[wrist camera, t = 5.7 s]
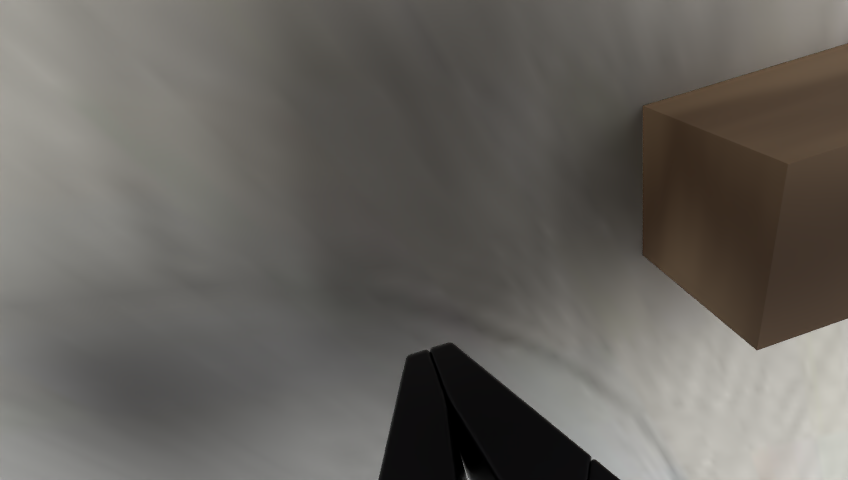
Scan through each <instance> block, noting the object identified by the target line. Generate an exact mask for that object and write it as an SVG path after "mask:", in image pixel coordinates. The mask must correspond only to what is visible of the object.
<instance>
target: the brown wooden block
mask: <svg viewBox="0 0 848 480" xmlns="http://www.w3.org/2000/svg"><path fill="white" fill-rule="evenodd" d="M643 256H644V257H646V258H647V259H648V260H649V261H650V262H652V263H653V264H654V265H655V266H656V267H658V268H659V269H660V270H661V271H662V272H664V273H665V274H666V275H667V276H668V277H670V278H671V279H672V280H673V281H674V282H676V283H677V284H678V285H679V286H680V287H682V288H683V289H684V290H685V291H686V292H688V293H689V294H690V295H691V296H692V297H694V298H695V299H696V300H697V301H698V302H700V303H701V304H702V305H703V306H704V307H706V308H707V309H708V310H709V311H710V312H712V313H713V314H714V315H715V316H716V317H718V318H719V319H720V320H721V321H722V322H724V323H725V324H726V325H727V326H728V327H730V328H731V329H732V330H733V331H734V332H736V333H737V334H738V335H739V336H740V337H742V338H743V339H744V340H745V341H746V342H748V343H749V344H750V345H751V346H752V347H754V348H755V349H756V350H759V349H762V348H765V347H768V346H771V345H774V344H776V343H779V342H782V341H785V340H788V339H791V338H793V337H796V336H799V335H802V334H805V333H808V332H810V331H813V330H816V329H819V328H822V327H825V326H827V325H830V324H833V323H836V322H839V321H842V320H844V319H847V318H848V43H847V44H844V45H841V46H837V47H834V48H831V49H828V50H824V51H821V52H818V53H814V54H811V55H808V56H805V57H801V58H798V59H795V60H791V61H788V62H785V63H782V64H778V65H775V66H772V67H768V68H765V69H762V70H759V71H755V72H752V73H749V74H746V75H742V76H739V77H736V78H732V79H729V80H726V81H723V82H719V83H716V84H713V85H709V86H706V87H703V88H700V89H696V90H693V91H690V92H686V93H683V94H680V95H677V96H673V97H670V98H667V99H663V100H660V101H657V102H654V103H650V104H647V105H644V106H643Z"/></svg>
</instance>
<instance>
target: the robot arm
mask: <svg viewBox="0 0 848 480" xmlns="http://www.w3.org/2000/svg"><path fill="white" fill-rule="evenodd" d="M463 463H464V465H463ZM464 466H465V469H466V472H467V474H468V477H469V479H470V480H620V479H619V478H617V477H616V476H615V475H614V474H612V473H611V472H610V471H609V470H608V469H606V468H605V467H604V466H603V465H601V464H600V463H599V462H598V461H597V460H595V459H593V460H592V459H591V456H590V455H589V454H588V453H586V452H585V451H584V450H583V449H582V448H580V447H579V446H578V445H577V444H575V443H574V442H573V441H572V440H571V439H569V438H568V437H567V436H566V435H564V434H563V433H562V432H561V431H560V430H558V429H557V428H556V427H555V426H553V425H552V424H551V423H550V422H549V421H547V420H546V419H545V418H544V417H542V416H541V415H540V414H539V413H538V412H536V411H535V410H534V409H533V408H531V407H530V406H529V405H528V404H527V403H525V402H524V401H523V400H522V399H520V398H519V397H518V396H517V395H516V394H514V393H513V392H512V391H511V390H509V389H508V388H507V387H506V386H505V385H503V384H502V383H501V382H500V381H498V380H497V379H496V378H495V377H494V376H492V375H491V374H490V373H489V372H487V371H486V370H485V369H484V368H483V367H481V366H480V365H479V364H478V363H476V362H475V361H474V360H473V359H472V358H470V357H469V356H468V355H467V354H465V353H464V352H463V351H462V350H461V349H459V348H458V347H457V346H456V345H454V344H453V343H446V344H442V345H439V346H436V347H433V348H431V350H430V352H429V351H428V350H423V351H420V352H417V353H414V354H410V355H408V356H407V358H406V360H405V364H404V369H403V373H402V378H401V382H400V386H399V391H398V395H397V400H396V404H395V409H394V413H393V417H392V422H391V426H390V431H389V435H388V440H387V444H386V448H385V453H384V457H383V462H382V466H381V471H380V475H379V479H378V480H467V478H466V473H465V469H464Z"/></svg>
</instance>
